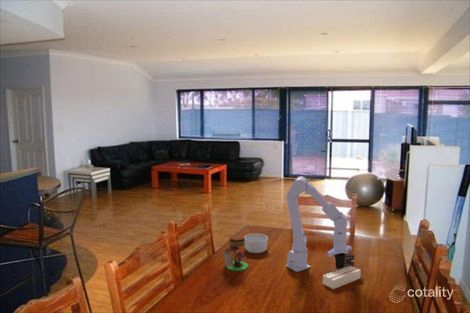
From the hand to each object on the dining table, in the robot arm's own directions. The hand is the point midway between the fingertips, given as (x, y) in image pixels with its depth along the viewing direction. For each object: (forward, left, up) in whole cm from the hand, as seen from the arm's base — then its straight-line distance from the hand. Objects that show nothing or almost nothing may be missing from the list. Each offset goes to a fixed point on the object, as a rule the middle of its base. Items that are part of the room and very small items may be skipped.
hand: (339, 267), depth 181 cm
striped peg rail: (-7, -8, -2) cm, 11 cm away
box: (+4, 0, -2) cm, 5 cm away
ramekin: (-16, +44, -2) cm, 47 cm away
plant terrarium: (-37, +32, -2) cm, 49 cm away
